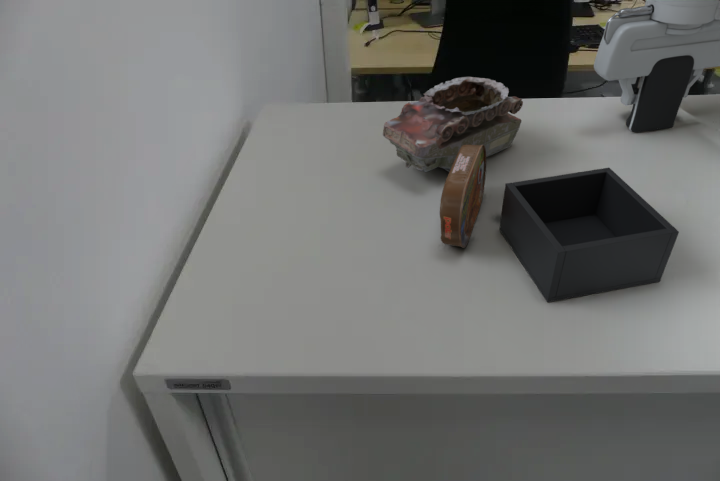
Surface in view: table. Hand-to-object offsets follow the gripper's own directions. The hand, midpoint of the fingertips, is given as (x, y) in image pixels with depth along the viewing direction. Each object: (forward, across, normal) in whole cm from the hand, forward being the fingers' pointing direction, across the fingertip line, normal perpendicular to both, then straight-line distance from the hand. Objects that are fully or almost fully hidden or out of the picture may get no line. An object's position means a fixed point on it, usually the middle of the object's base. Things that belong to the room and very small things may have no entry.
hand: (653, 100), depth 83 cm
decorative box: (+4, -31, -3) cm, 31 cm away
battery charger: (+4, 0, 0) cm, 4 cm away
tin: (+4, -35, -16) cm, 39 cm away
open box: (+4, -25, -25) cm, 36 cm away
